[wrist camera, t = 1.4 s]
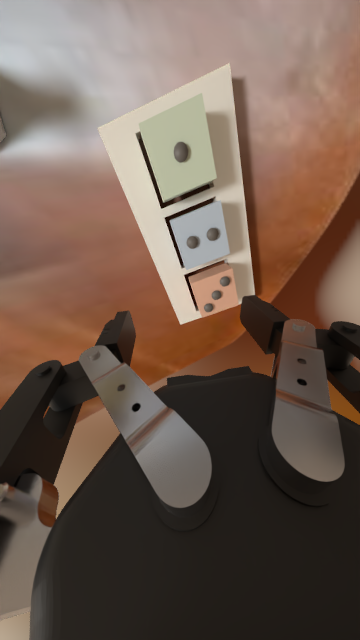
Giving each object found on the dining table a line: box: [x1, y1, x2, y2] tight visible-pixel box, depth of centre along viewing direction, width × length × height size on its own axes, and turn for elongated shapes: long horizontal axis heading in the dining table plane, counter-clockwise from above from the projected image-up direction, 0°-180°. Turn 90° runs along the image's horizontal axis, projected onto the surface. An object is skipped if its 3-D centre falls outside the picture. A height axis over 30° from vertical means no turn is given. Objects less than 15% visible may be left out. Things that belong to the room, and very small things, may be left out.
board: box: [97, 63, 255, 324], centre depth 24 cm, size 14×26×2 cm, turn 19°
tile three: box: [188, 263, 239, 318], centre depth 26 cm, size 6×6×3 cm
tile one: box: [139, 93, 217, 203], centre depth 17 cm, size 6×6×3 cm
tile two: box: [169, 200, 230, 270], centre depth 22 cm, size 6×6×3 cm
